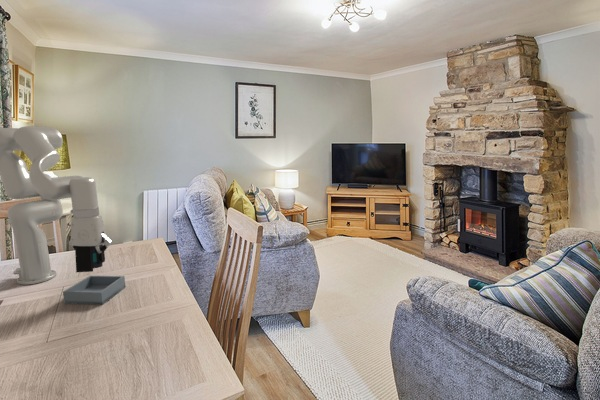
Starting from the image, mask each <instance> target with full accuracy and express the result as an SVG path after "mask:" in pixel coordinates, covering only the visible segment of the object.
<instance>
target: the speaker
mask: <svg viewBox="0 0 600 400" xmlns="http://www.w3.org/2000/svg"><path fill="white" fill-rule="evenodd" d="M99 246H100V245H99ZM74 251H75V254H74V255H75V272H76V273H91V272H94V269H97V268H102V267H103V263H101V264H97V256H96V254H97V253H98V252H97V250H96V248H95V246H92V247H89V246H75V249H74Z"/></svg>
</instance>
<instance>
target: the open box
mask: <svg viewBox="0 0 600 400" xmlns="http://www.w3.org/2000/svg"><path fill="white" fill-rule="evenodd" d="M126 287H127V286H126V277H125V276H124V275H89V276H87V277H85V278H83V279H82V280H80V281H78V282H77V283H74V284H73V285H72V286H70V287H69V288H66V289H65V290H63V291H62V294H63V301H64V305H95V306H98V305H99V306H100V305H101V306H102V305H104V304H106V303H107V302H109V301H110V300H111V299H113V297H115V296H117V295H118V294H119V293H120V292H122V290H124V289H125V288H126Z"/></svg>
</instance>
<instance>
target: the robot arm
mask: <svg viewBox="0 0 600 400" xmlns="http://www.w3.org/2000/svg"><path fill="white" fill-rule="evenodd" d="M63 142H64V139H63V135H62V133H61V132H60V131H59V130H58V129H56V128H55V127H52V126H30V125H29V126H21V127H19V128H17V127H15V128H14V127H0V179H1V183H2V185H3V188H4V191H5V193H6V195H7V197H8V198H9V199H11V200H25V199H32V198H40V199H38V200H30V201H24V202H22V201H21V202H19V203H16V204H13V205H11V206H10V207H9V208H8V209H7V218H8V220H9V221H8V222H9V224H10V226H11V228H12V232H13V235H14V240H15V246H16V250H17V257H18V263H19V267H16V269H15V270H14V271H13V275H18V278H17V279H16V282H17V284H18V285H34V284H39V283H43V282H46V281H49V280H52V279H53V278H55V277H56V276H57V271H56V270H54V269H52V267H51V261H50V253H49V248H48V241H47V235H46V233H45V232H44V231H43V230H42V229H41V228H40V227H39V226H38V225H41V224H46V223H51V222H56V221H59V220H61V218H62V217H63V215H64V214H63V213H64V212H63V206H62V205H63V204H62V202H61V200H64V199H69V198H70V199H71V207H72V209H71V210H70V214H71V215H73V217H71V219H70V240H69V241H68V244H69V245H70V247H72V248H73V249H74V250H75V246H89V247H92V246H95V248H96V250H97V252H98V253H97V254H96V256H97V264H101V263H102V264H103V263H104V262H106V256H105V254H106V253H105V251H107V249H108V247H109V246H111V245H112V243H113V241H112V240H111V239H110V238H109V237H108V236H107V232H106V228H105V223H104V220H103V218H102V216H101V215H100V209H99V200H98V195H97V194H98V192H97V185H96V180H95V179H94V178H93V177H90V176H88V177H87V176H81V175H69V176H66V175H65V176H57V177H55V176H54V177H52V176H50V174H48V173H45V172H46V171H47V170H49V169H51V168H53V167H55V166H56V165H57V164H58V163H59V161H60V159H61V156H60V153H59V152H58V151H57V149H60V148H61V147H62V146H63V144H64V143H63ZM15 151H22V152H23V154H25V156H26V157H27V158H28V160H29V161H30V162H31V163H32V164H30V167H29V170H28V166H27V163H26V161H25V160H24V159H22V157H21V156H19V155H18V154H16V153H15ZM99 245H100V246H99Z"/></svg>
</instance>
